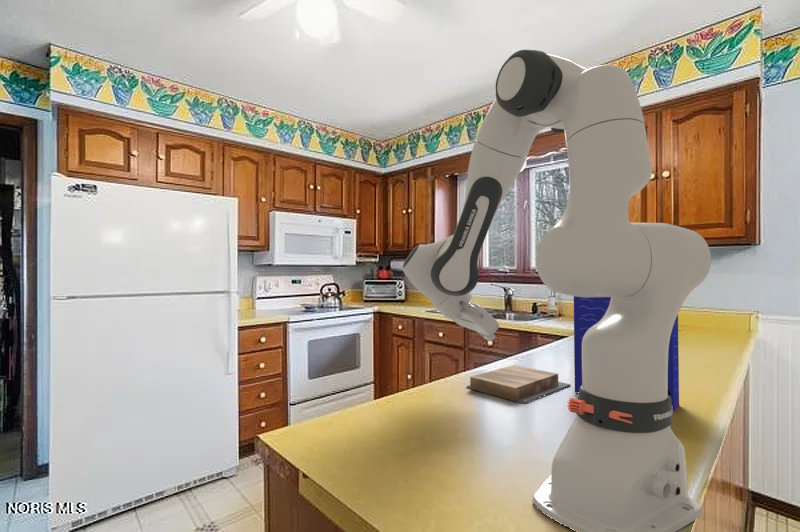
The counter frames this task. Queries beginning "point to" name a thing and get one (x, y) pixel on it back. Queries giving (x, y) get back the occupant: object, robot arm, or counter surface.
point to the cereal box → (592, 313)
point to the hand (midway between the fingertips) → (491, 338)
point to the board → (514, 381)
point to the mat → (538, 394)
